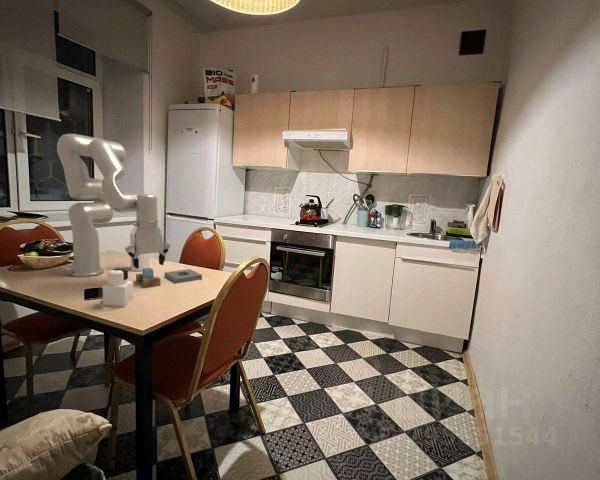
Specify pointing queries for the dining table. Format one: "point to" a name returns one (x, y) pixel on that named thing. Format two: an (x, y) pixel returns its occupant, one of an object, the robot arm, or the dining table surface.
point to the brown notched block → (148, 281)
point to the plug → (147, 273)
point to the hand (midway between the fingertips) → (149, 266)
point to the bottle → (142, 257)
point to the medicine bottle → (118, 288)
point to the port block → (182, 276)
